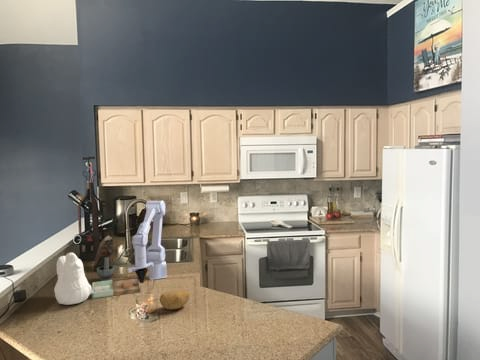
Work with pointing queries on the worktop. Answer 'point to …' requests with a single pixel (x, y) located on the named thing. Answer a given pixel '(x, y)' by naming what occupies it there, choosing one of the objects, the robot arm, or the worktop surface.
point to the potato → (174, 299)
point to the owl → (104, 253)
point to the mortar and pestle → (106, 270)
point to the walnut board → (120, 290)
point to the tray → (107, 287)
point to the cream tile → (99, 288)
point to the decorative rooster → (71, 281)
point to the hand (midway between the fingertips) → (141, 282)
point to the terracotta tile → (127, 283)
